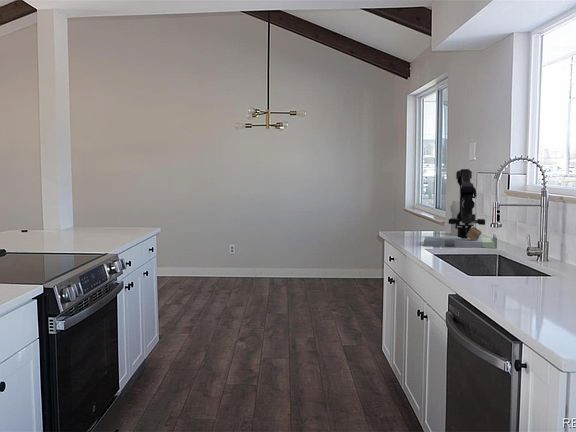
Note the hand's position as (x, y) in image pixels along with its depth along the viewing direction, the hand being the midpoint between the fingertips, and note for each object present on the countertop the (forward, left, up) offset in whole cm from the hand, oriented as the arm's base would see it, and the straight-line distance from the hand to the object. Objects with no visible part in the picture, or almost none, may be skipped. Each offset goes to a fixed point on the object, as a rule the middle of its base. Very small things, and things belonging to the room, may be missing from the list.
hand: (466, 237), depth 294 cm
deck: (0, -4, -4) cm, 6 cm away
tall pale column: (-42, -4, -4) cm, 43 cm away
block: (+2, +3, 0) cm, 3 cm away
